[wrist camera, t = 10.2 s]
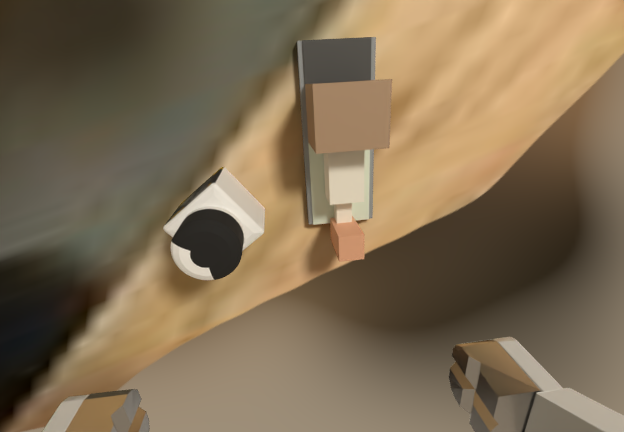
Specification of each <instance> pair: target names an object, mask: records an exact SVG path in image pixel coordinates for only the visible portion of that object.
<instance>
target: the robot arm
mask: <svg viewBox="0 0 624 432" xmlns="http://www.w3.org/2000/svg"><path fill="white" fill-rule="evenodd" d="M452 357H453V358H454V360H455V361H456V362H455V363H454V364H453V365H452V366H451V367H450V373H449V380H450V385H451V390H452V392H453V394H454V397H455V399H456V400H457V402H458V404H459V406H460V407H462V408H463V409H464V410H466V411H467V412H469V413H470V425H471V426H472V428H473V430H474V431H475V432H624V416H623V415H621V414H619V413H617V412H615V411H613V410H611V409H610V408H607V407H606V406H604V405H602V404H600V403H598V402H596V401H594V400H592V399H590V398H588V397H586V396H584V395H582V394H580V393H578V392H576V391H575V390H573V389H571V388H562V387H561V386H560V385H559V384H558V383H557V382H556V381H555V379H554V378H553V377H552V376H551V375H550V374H549V373H548V372H547V371H546V370H545V369H544V368H543V367H542V366H541V365H540V364H539V363H538V362H537V361H536V360H535V359H534V358H533V357H532V356H531V355H530V354H529V353H528V352H527V351H526V350H525V349H524V347H523V346H522V345H521V344H520V343H519V342H518V341H517V340H515V339H514V338H512V337H505V338H498V339H492V340H483V341H476V342H469V343H463V344H457V345H455V346H454V348H453V352H452ZM140 402H141V397H140V394H139V392H138V390H137V389H136V390H135V389H131V390H122V391H113V392H104V393H95V394H88V395H80V396H71V397H68V398H67V399H65V400H64V401H63V402H62V403H61V404H60V405H59V407H58V408H57V410H56V411H55V413H54V414H53V416H52V417H51V419H50V420H49V422H48V423H47V425H46V426H45V428H44V429H43V431H42V432H149V418H148V416H147V413H146V411H144V410H143V409H141V408H139V407H138V406H139V404H140Z"/></svg>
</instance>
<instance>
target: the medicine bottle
mask: <svg viewBox="0 0 624 432" xmlns="http://www.w3.org/2000/svg"><path fill="white" fill-rule="evenodd" d="M264 220H265V208H264V207H263V206H262V205H261V204H260V203H259V202H258V201H257V200H256V198H255V197H254V196H253V195H252V194H251V193H250V192H249V191H248V190H247V189H246V188H245V187H244V186H243V185H242V184H241V183H240V182H239V181H238V180H237V179H236V178H235V177H234V176H233V175H232V174H231V173H230V172H229V171H228V170H227V169H226V168H225V167H222V168H220V169H219V170H218V171H217V172H216V173H215V174H213V175H212V176H211V177H210V178H209V179H208V180H207V181H206V182H205V183H203V184H202V185H201V186H200V187H199V188H198V189H197V190H196V191H194V192H193V193H192V194H191V195H190V196H189V197H188V198H187V199H186V200H184V201H183V202H182V203H181V204H180V206H179V207H178V208H177V210H176V211H175V212H174V214H173V215H172V216H171V218H170V219H169V220H168V222H167V223H166V224H165V226H164V231H165V232H167V233H168V234H169V235H170V236H171V237H173V238H172V241H171V255H172V258H173V260H174V262H175V264H176V265H177V266H178V268H179V269H180V270H182V271H183V272H184V273H185V274H187V275H189V276H191V277H193V278H196V279H200V280H216V279H220V278H223V277H225V276H227V275H229V274H230V273H231V272H233V271H234V270H235V268H236V267H237V266H238V264H239V262H240V260H241V256H242V251H243V250H244V249H245V248H247V247H248V246H249V245H250V244H252V243H253V242H254V241H255V240H256V239H258V238H259V237H260V236H261V235H262V234H263V233H264Z"/></svg>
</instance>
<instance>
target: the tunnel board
mask: <svg viewBox="0 0 624 432" xmlns="http://www.w3.org/2000/svg"><path fill="white" fill-rule="evenodd" d="M375 50H376V37H365V38H344V39H323V40H303V41H297V56H298V71H299V87H300V102H301V118H302V133H303V149H304V164H305V179H306V195H307V210H308V222H309V224H313V225H316V224H326V223H330V218H334V205H330V204H329V202H328V200H327V198H326V196H325V180H324V156H323V153H334V152H347V151H359V150H365V156H364V202H356V203H352V216H353V217H354V219H355V220H366V219H370V218H372V211H373V158H374V149H384V148H389V145H390V118H391V92H392V79H385V80H375Z"/></svg>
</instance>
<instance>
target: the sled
mask: <svg viewBox="0 0 624 432" xmlns="http://www.w3.org/2000/svg"><path fill="white" fill-rule="evenodd" d="M323 156H324V180H325V196H326V198H327V200H328V202H329V204H330V205H334V218H330V228H331V241H332V244H333V247H334V249H335V252H336V254H337V257H338V259H339V262H340V261H350V260H359V259H364V233H363V232H362V230H361V228H360V227H359V225H358V224H357V222H356V220H355V219H354V217H353V216H352V203H356V202H364V156H365V150H359V151H347V152H334V153H323Z"/></svg>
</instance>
